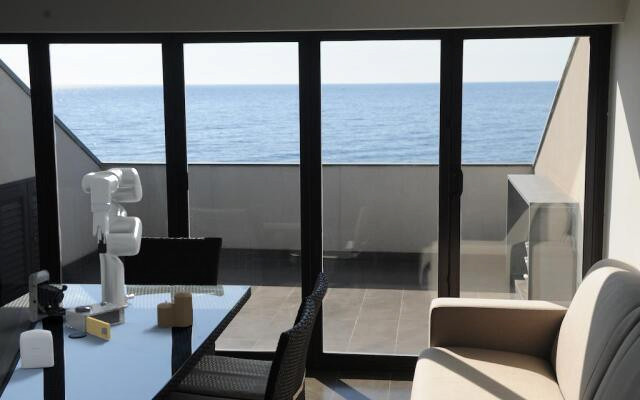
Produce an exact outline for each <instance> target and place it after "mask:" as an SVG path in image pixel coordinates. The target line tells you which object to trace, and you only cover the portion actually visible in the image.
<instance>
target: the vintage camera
mask: <svg viewBox="0 0 640 400" xmlns="http://www.w3.org/2000/svg"><path fill="white" fill-rule="evenodd" d="M68 287H69V286H68V285H66V284H62V285H61V288H59V287H58V286H55V285H52V284H50V273H49V271H48V270H46V269H42V270H41V271H38V272H37V271H36V272H32V273H31V274H30V275H29V276H28V314H29V317H28V319H29V320H30V322H32V323H36V322H39V321H40V320H42V319H44V318H45V319H46V317H48V316H61V317H62V316H65V317H66V310H68V309H69V308H65V307H62V306H60V304H61V303H62V302H63V301H64V298H65V293H64V292H66V291H67V290H68Z"/></svg>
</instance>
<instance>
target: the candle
mask: <svg viewBox="0 0 640 400" xmlns="http://www.w3.org/2000/svg"><path fill="white" fill-rule="evenodd" d="M156 316H157V317H156V319H157V321H156V322H157V328H163V329H169V328H174V327H179V328H186V327H190V325H192V326H193V325H194V323H193V296H192V293H191V292H190V291H186V290H185V288H184V286H182V289H181V291H176V292H175V293H174V295H173V302H169V301H168V300H167V299H165V301H164V302H160V303H158V304H157V305H156Z"/></svg>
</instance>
